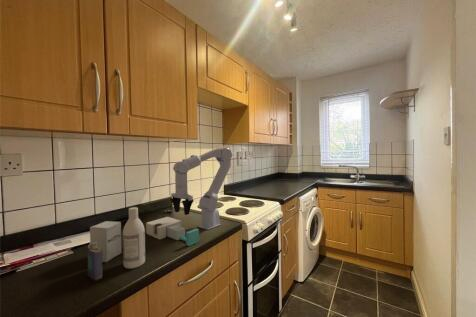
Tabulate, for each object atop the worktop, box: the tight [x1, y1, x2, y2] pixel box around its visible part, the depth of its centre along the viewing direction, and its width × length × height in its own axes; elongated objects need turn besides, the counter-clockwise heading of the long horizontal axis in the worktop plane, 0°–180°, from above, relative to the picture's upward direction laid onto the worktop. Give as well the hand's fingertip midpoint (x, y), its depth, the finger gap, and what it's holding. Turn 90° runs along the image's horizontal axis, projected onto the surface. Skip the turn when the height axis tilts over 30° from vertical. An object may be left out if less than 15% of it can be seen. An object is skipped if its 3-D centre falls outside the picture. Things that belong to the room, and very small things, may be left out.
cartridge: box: [166, 225, 200, 247], centre depth 93 cm, size 6×20×6 cm, turn 52°
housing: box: [145, 216, 182, 240], centre depth 102 cm, size 12×12×5 cm
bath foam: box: [122, 206, 146, 270], centre depth 72 cm, size 7×7×20 cm
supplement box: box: [89, 220, 122, 263], centre depth 78 cm, size 7×7×13 cm
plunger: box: [155, 223, 161, 234], centre depth 97 cm, size 3×3×4 cm
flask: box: [87, 242, 104, 281], centre depth 66 cm, size 9×3×11 cm, turn 49°
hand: (182, 213), depth 100 cm, fingers open, 7 cm apart
